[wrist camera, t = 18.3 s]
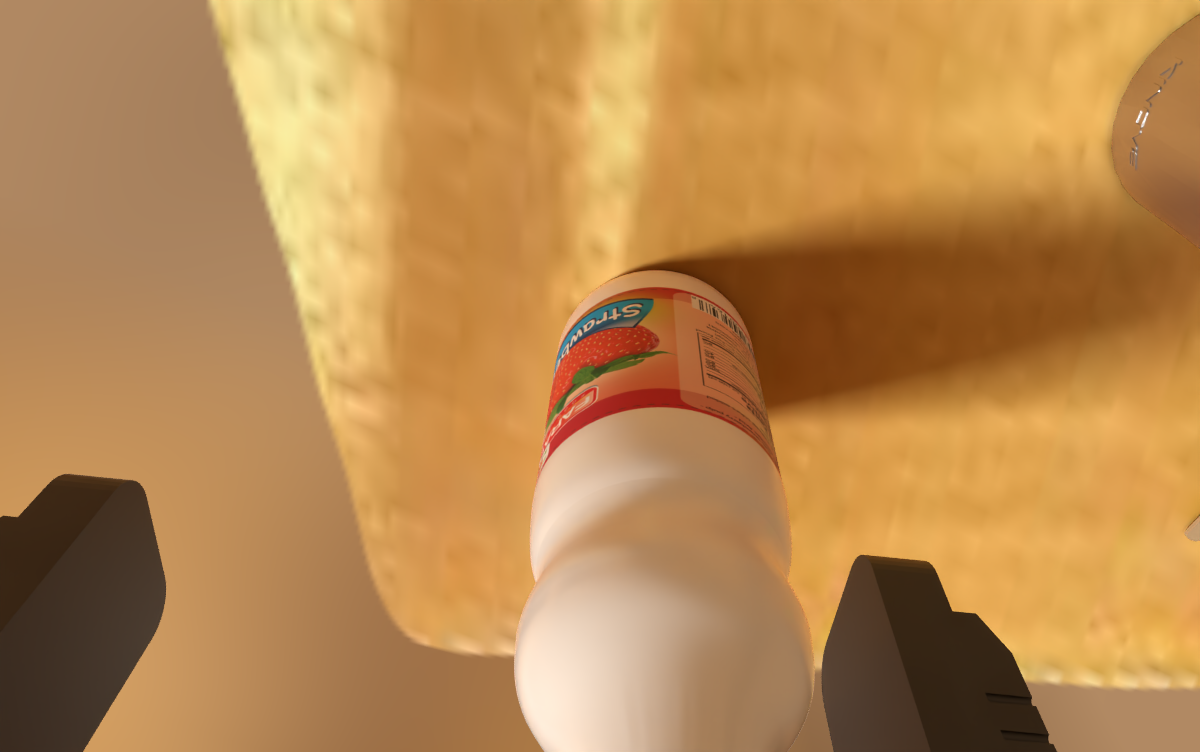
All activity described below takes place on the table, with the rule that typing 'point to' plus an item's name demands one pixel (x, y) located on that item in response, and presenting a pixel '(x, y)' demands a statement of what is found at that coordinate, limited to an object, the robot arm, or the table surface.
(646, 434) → the strawberry milk bottle
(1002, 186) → the table surface
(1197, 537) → the popsicle
